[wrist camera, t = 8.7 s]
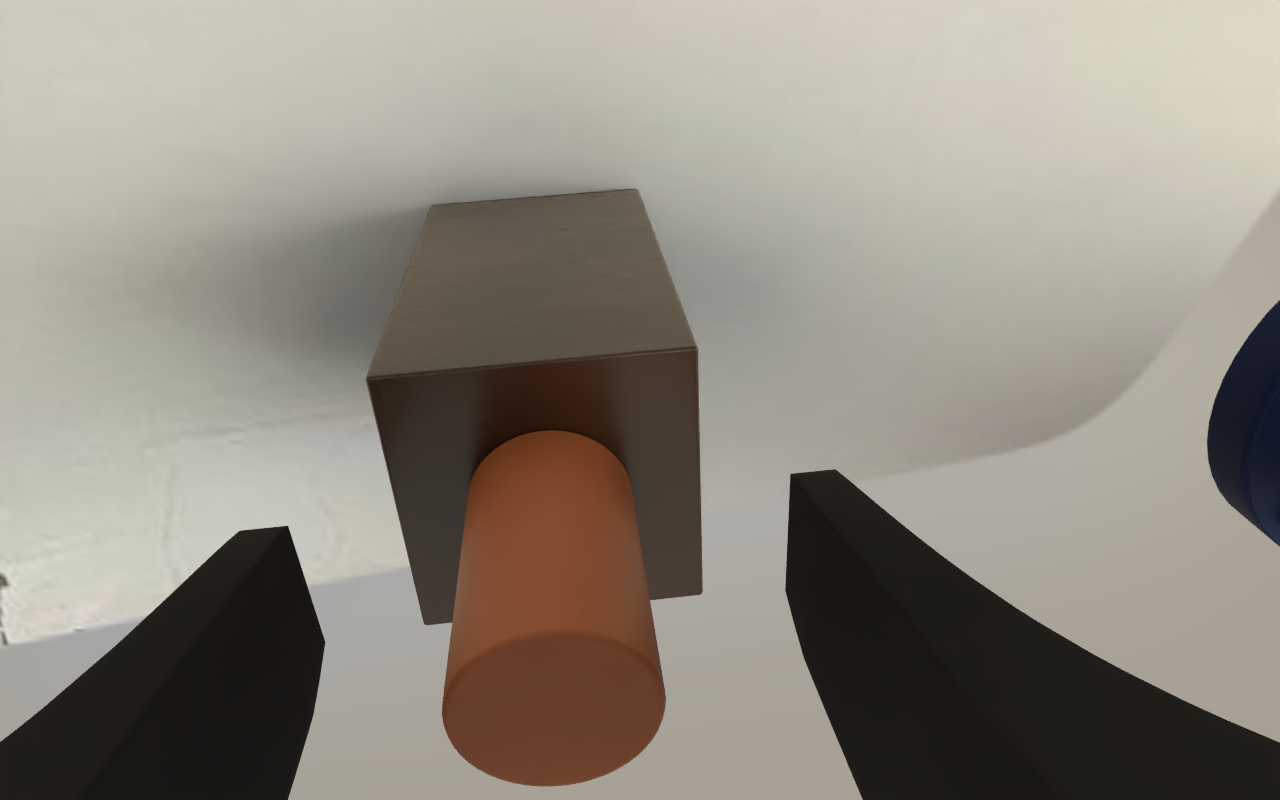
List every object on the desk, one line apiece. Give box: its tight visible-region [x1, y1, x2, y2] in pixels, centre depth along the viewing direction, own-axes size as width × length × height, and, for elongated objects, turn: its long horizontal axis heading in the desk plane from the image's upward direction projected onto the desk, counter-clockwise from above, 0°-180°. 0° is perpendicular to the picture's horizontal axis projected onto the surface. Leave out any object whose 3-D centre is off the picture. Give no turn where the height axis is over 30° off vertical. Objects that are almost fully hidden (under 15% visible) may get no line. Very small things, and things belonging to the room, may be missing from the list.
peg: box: [442, 430, 666, 786], centre depth 11 cm, size 2×2×4 cm
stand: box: [366, 189, 703, 625], centre depth 16 cm, size 4×4×8 cm
